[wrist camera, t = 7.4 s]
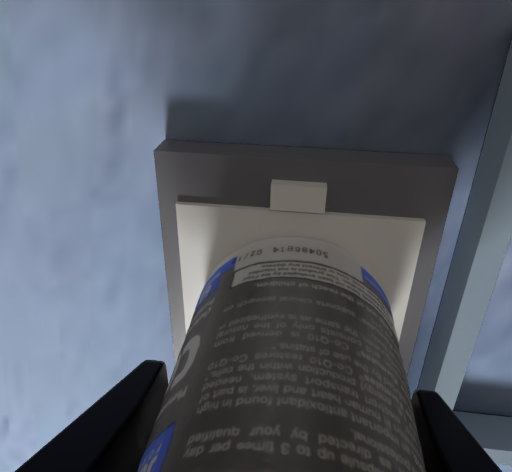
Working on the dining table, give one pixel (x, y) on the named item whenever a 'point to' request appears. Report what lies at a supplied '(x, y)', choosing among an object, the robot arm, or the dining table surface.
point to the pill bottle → (288, 370)
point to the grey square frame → (477, 277)
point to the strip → (302, 215)
